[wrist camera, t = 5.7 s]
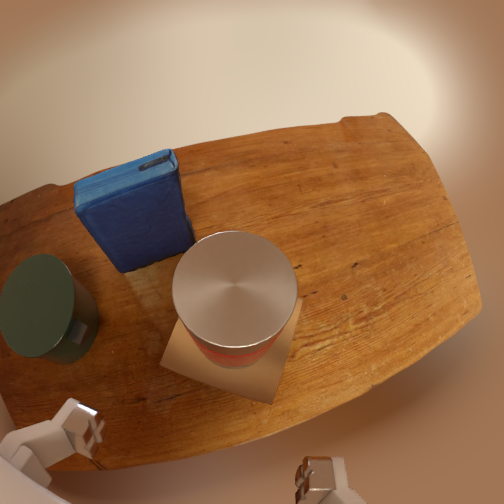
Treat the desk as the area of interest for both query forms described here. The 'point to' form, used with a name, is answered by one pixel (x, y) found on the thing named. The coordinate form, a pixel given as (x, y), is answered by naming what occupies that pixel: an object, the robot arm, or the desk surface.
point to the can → (234, 296)
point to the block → (232, 380)
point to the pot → (47, 311)
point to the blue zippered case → (136, 211)
